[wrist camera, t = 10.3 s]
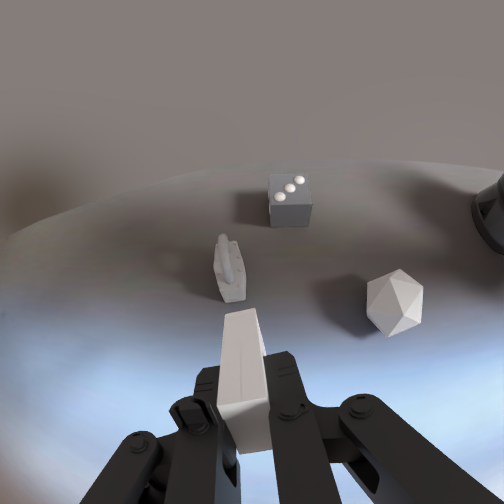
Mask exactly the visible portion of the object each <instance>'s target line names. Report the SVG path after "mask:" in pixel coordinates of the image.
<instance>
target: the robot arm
mask: <svg viewBox="0 0 504 504" xmlns="http://www.w3.org/2000/svg"><path fill="white" fill-rule="evenodd" d="M472 214H473V218H474V221H475V224H476V226H477V228H478V230H479V232H480V234H481V235H482V237H483V238H484V240H485V241H486V242H487V243H488V244H489V245H490V246H491V247H492V248H493V249H494V250H495V251H497V252H499V253H501V254H504V173H503V175H502V176H501V178H500V179H499V180H498V182H497V183H495V184H493V185H492V186H490V187H488V188H486V189H485V190H483V191H481V192H480V193H479V194H478V195H477V196H476V198H475V199H474V200H473V203H472ZM195 385H196V386H195V389H194V394H193V396H188V397H184V398H182V399H180V400H178V401H176V402H175V403H174V404H173V405H172V406H171V408H170V410H169V413H170V414H171V416H172V418H173V420H174V421H175V423H176V425H177V426H178V428H179V429H178V431H177V432H175V433H172V434H169V435H166V436H162V437H159V438H156V437H155V436H154V435H153V434H152V433H150V432H148V431H138V432H134V433H132V434H130V435H128V436H127V437H126V438H125V439H124V440H123V441H122V443H121V444H120V446H119V447H118V449H117V450H116V451H115V453H114V454H113V456H112V457H111V459H110V460H109V462H108V463H107V464H106V466H105V467H104V469H103V470H102V472H101V473H100V475H99V476H98V477H97V479H96V480H95V482H94V483H93V485H92V486H91V488H90V489H89V490H88V492H87V493H86V495H85V496H84V498H83V499H82V501H81V502H80V503H79V504H241V484H240V465H239V462H238V460H237V458H236V448H237V450H238V452H239V454H246V453H253V452H260V451H266V450H272V449H273V456H274V464H275V472H276V479H277V487H278V494H279V502H280V504H342V502H341V499H340V495H339V492H338V489H337V486H336V482H335V479H334V476H333V473H332V469H331V466H330V463H342V464H343V465H344V466H345V468H346V469H347V470H348V472H349V473H350V474H351V475H352V477H353V478H354V479H355V481H356V482H357V483H358V484H359V486H360V487H361V488H362V489H363V491H364V492H365V493H366V494H367V496H368V497H369V498H370V499H371V500H372V502H373V503H374V504H504V502H503V501H502V500H501V499H499V498H498V497H497V496H496V495H494V494H493V493H492V492H490V491H489V490H488V489H487V488H485V487H484V486H483V485H482V484H480V483H479V482H478V481H477V480H475V479H474V478H473V477H472V476H470V475H469V474H468V473H467V472H465V471H464V470H463V469H462V468H460V467H459V466H458V465H457V464H456V463H454V462H453V461H452V460H451V459H450V458H448V457H447V456H446V455H445V454H443V453H442V452H441V451H440V450H439V449H437V448H436V447H435V446H434V445H433V444H432V443H430V442H429V441H428V440H427V439H426V438H424V437H423V436H422V435H421V434H420V433H419V432H417V431H416V430H415V429H414V428H413V427H412V426H410V425H409V424H408V423H407V422H406V421H405V420H403V419H402V418H401V417H400V416H399V415H398V414H396V413H395V412H394V411H393V410H392V409H391V408H390V407H388V406H387V405H386V404H385V403H384V402H383V401H382V400H380V399H379V398H378V397H376V396H374V395H370V394H357V395H354V396H351V397H349V398H347V399H346V400H345V401H343V402H342V404H341V406H340V407H320V406H317V405H315V404H313V403H311V402H310V401H309V400H308V398H307V396H306V392H305V389H304V386H303V383H302V380H301V377H300V374H299V370H298V367H297V364H296V361H295V358H294V356H293V355H291V354H290V353H289V352H288V351H285V352H280V353H276V354H271V355H267V356H266V351H265V347H264V343H263V339H262V335H261V331H260V327H259V323H258V319H257V315H256V311H255V308H252V309H247V310H243V311H238V312H233V313H228V314H225V321H224V331H223V341H222V352H221V363H220V366H214V367H208V368H203V369H202V370H201V372H200V373H199V374H198V375H197V378H196V383H195Z"/></svg>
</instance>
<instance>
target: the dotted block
mask: <svg viewBox="0 0 504 504" xmlns="http://www.w3.org/2000/svg"><path fill="white" fill-rule="evenodd" d="M268 199H269V214H270V226H271V228H275V227H308V224H309V220H310V215H311V210H312V205H313V203H312V198H311V192H310V186H309V180H308V175H307V174H269V190H268Z"/></svg>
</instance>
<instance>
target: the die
mask: <svg viewBox="0 0 504 504" xmlns="http://www.w3.org/2000/svg"><path fill="white" fill-rule="evenodd" d="M422 301H423V286H422V285H421V284H419V283H418V282H417V281H415V280H414V279H413V278H411V277H410V276H409V275H407V274H406V273H405V272H403V271H402V270H401V269H398V270H396V271H393V272H391V273H389V274H386V275H384V276H382V277H379V278H377V279H375V280H372V281H370V282H367V317H368V318H369V319H370V320H371V321H372V322H373V323H374V324H375V325H376V327H377V328H378V329H379V330H380V331H381V332H382V333H383V334H384V335H385V336H386V337H387V338H388V337H390V336H393V335H395V334H397V333H400V332H402V331H404V330H407V329H409V328H411V327H413V326H415V325H418V324H420V323H421V314H422Z"/></svg>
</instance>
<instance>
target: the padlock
mask: <svg viewBox="0 0 504 504" xmlns="http://www.w3.org/2000/svg"><path fill="white" fill-rule="evenodd" d="M213 268H214V272H215V276H216V279H217V283H218V287H219V290H220V293H221V295H222V297H223V299H224V301H225V303H229V302H236V301H244V300H245V297H246V272H245V267H244V262H243V259H242V256H241V253H240V250H239V247H238V244H237V241H229V240H228V237H227V235H226V234H220V235H219V237H218V243H216V246H215V256H214V267H213Z"/></svg>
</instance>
